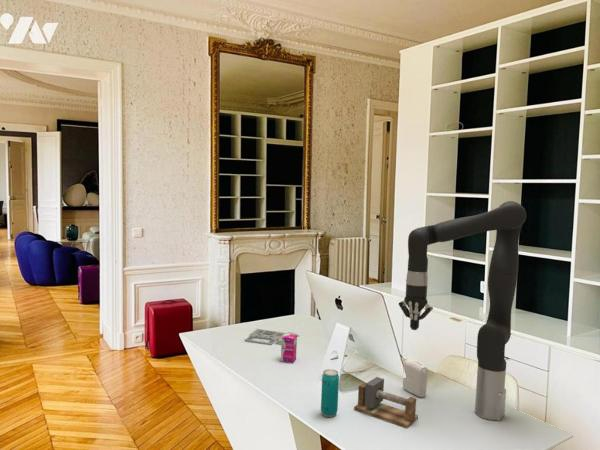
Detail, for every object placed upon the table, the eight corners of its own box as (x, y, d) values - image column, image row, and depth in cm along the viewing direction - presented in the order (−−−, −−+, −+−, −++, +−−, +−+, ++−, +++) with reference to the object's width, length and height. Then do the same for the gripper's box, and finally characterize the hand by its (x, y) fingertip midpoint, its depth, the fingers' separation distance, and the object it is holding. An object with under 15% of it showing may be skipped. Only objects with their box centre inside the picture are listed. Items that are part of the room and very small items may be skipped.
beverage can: (327, 408, 175) (328, 367, 173) (340, 414, 171) (342, 372, 170) (317, 414, 170) (318, 372, 169) (330, 419, 166) (332, 376, 165)
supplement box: (280, 362, 218) (281, 336, 217) (284, 357, 224) (284, 333, 223) (293, 363, 217) (294, 338, 216) (296, 359, 222) (297, 334, 221)
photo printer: (400, 388, 195) (402, 357, 194) (409, 386, 197) (410, 356, 196) (419, 398, 186) (421, 366, 185) (427, 396, 188) (429, 364, 187)
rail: (418, 418, 170) (419, 395, 169) (406, 428, 162) (408, 404, 162) (366, 401, 182) (367, 380, 181) (354, 410, 174) (355, 388, 174)
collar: (382, 400, 177) (384, 379, 176) (372, 408, 171) (373, 385, 170) (375, 398, 179) (376, 376, 178) (364, 405, 172) (365, 383, 172)
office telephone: (299, 332, 257) (286, 343, 238) (298, 337, 257) (286, 348, 238) (257, 326, 264) (242, 337, 245) (257, 331, 264) (242, 342, 245)
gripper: (438, 284, 179) (435, 331, 180) (404, 278, 187) (402, 323, 188) (430, 287, 173) (427, 335, 174) (395, 281, 181) (393, 328, 182)
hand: (414, 329), depth 181 cm, fingers closed
